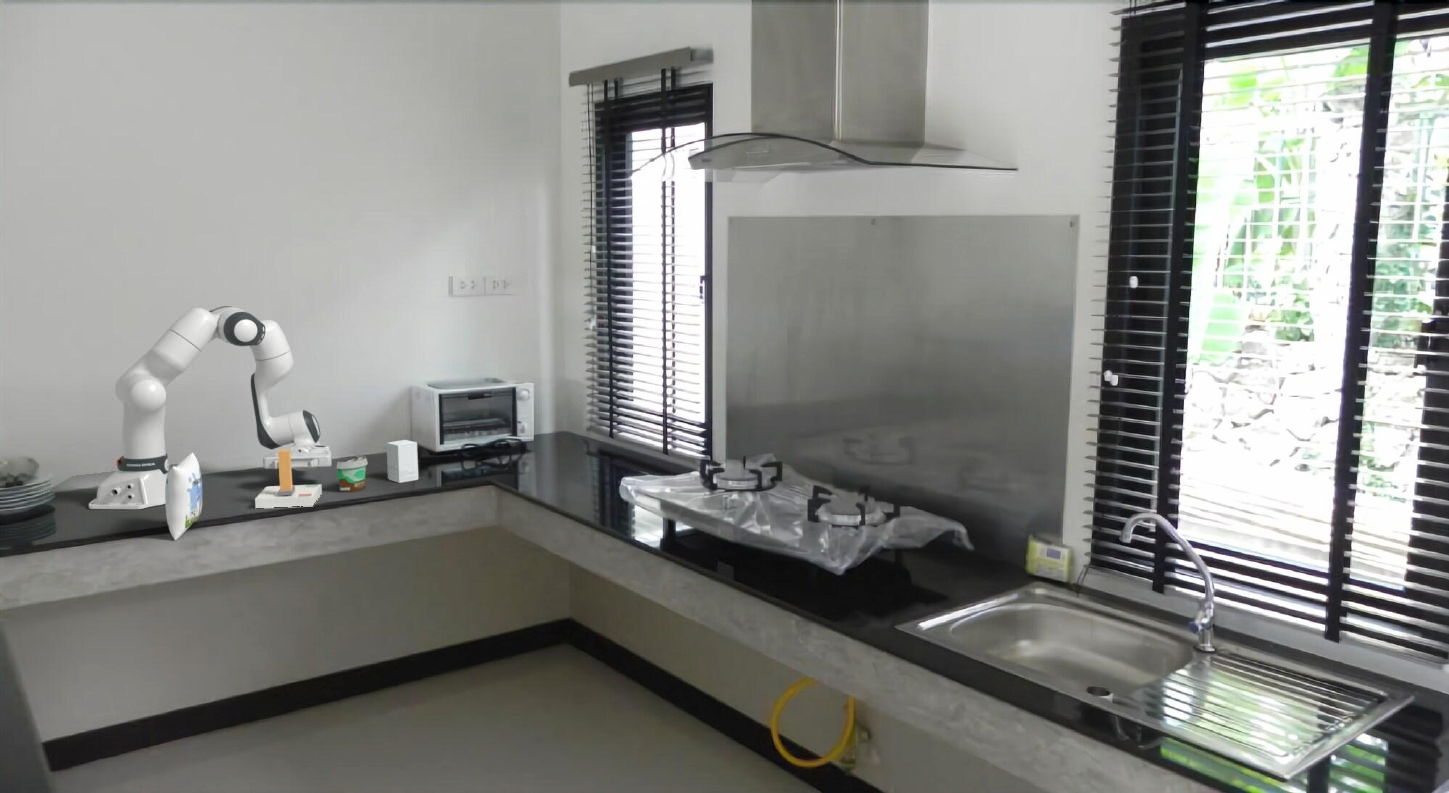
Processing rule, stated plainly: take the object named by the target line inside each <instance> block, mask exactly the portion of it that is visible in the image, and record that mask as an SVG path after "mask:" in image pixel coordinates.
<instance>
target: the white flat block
mask: <svg viewBox="0 0 1449 793" xmlns="http://www.w3.org/2000/svg"><path fill="white" fill-rule="evenodd" d="M292 488H295V492H294V493H293V495H280V496H278V491H279V490H280V485H274V486H272V485H271V486H270V485H269V486H266V487H264V489H263V490H262V491H261V492H260V493H259V494H258V495H257V496H256V497H255V498H254V504H255V509H256V508H264V509H275V508H274V507H288V508H293V507H292V506H300V507H299V508H305V507H306V508H307V507H308V508H309V507H314V506H315V505H314V503H315V502H316V500H317V501H318V500H319V499H320V497H321V496H322V495H323V491H322V490H323V489H322V483H321V484H319V483H318V484H298V485H297V484H296V485H294V484H292ZM320 495H321V496H320ZM318 498H319V499H318ZM316 503H317V502H316ZM316 503H315V504H316ZM313 505H314V506H313ZM301 506H303V507H301Z"/></svg>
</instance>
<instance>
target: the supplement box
mask: <svg viewBox="0 0 1449 793" xmlns="http://www.w3.org/2000/svg"><path fill="white" fill-rule="evenodd" d="M418 459H419V458H418V442H417V441H412V440H408V439H401V440H396V441H390V442H386V460H387V464H386V465H387V480H388V479H389V480H388V481H392V482H395V483H406V482H412V481H418V480H419V462H418V461H419V460H418Z"/></svg>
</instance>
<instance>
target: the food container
mask: <svg viewBox="0 0 1449 793" xmlns="http://www.w3.org/2000/svg"><path fill="white" fill-rule="evenodd" d="M368 464H369V462H368V459H367V457H366V455H362V454H356V457H354V458H352V459H350V458H349V459H347V460H345V461H337V462H336V469H337V473H338V474H337V475H338V482H339V483H338V484H339V492H349V493H356V492H355V491H357V492H360V491H359V490H361V491H364V490H365V489H364V488H366V466H367V465H368ZM363 489H364V490H363Z"/></svg>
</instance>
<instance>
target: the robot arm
mask: <svg viewBox="0 0 1449 793" xmlns="http://www.w3.org/2000/svg"><path fill="white" fill-rule="evenodd" d="M217 339H220V340H221V341H223V342H225V343H226V344H229V345H234V346H235V347H249V348H250V349H251V352H252V355H253V357H254V362H255V371H254V372H253V373H252V374H251V377H250V392H251V398H252V405H253V411H254V417H255V424H256V437H257V438H256V439H257V441H258V442H259V444H260V445H261V446H262V447H264V448H266V449H269V450H274V449H278V448H281V447H283V446H286V445H291V444H293V445H292V446H291V447H290V448H289V449H288V450H290V451H291V469H293V470H295V471H298V472H306V471H307V470H311V469H315V468H328V467H332V465H333V464H332V451H331V450H330V446H329V445H327V446H326V445H322V444H321V442H320V440H319V439H320V437H321V430H320V428H321V427H320V425H319V422H318V420H317V418H316V416H314V415H313V414H312V413H310V411H307V410H306V409H303V410H297V411H294V412H291V413H287V414H283V415H279V416H274V417H273V416H271V415H270V411H269V403H268V398H267V397H268V396H267V393H268V391H269V390H271V389H272V388H273V387H275V386H276V385H277V384H279V383H280V382H282V381H283V380H285V379H286V378H287V377H288V376H289V375H290V374H291V372H292V371H293V368H294V366H295V365H294V364H295V361H294V356H293V352H292V350H291V346H290V344H289V342H288V339H287V337H286V335H285V334H284V331H283V330H282V328H281V327H280V325H279V323H278V322H276V321H274V320H272V319H260V320H259V319H258V318H257V317H255V316H254V314H251V312H250V313H249V312H246V311H245V310H243V309H241V308H238V307H234V306H230V305H229V306H228V305H224V306H220V307H216V308H214V309H211V310H207V309H205V308H202V307H192V308H190V309H189V310H187V311H186V312H185V313H184V314H182V315H181V316H180V317H178V319H177V320H175V321H174V323H172V325H171V326H170V327H169V328H167V330H166V331H165V333H163V335H162V336H161V337H160V338H159V339H158V340H157V341H156V343H154V345H153V346H152V347H151V348H150V349H149V350H148V351H147V352H146V353H145V354H144V355H143V356H141V357H140V358H139V359H138V360H137V361H136V362H134V363H133V364H132V365H131V366H130V367H129V368H128V369H127V370H126V371H125V372H124V373H123V374H122V375H121V376H119V378H118V379H117V381H116V382H115V385H114V386H115V390H114V392H115V395H116V398H117V399H118V400H119V402H120V403H122V406H123V419H122V428H121V436H122V439H121V440H122V450H123V451H122V452H123V455H121V456H120V457H119V459H116V461H115V466H117V467H116V468H117V470H115V472H113V473H112V474H110V475H109V476H107V478H106V479H104V480H103V481H102V482H101V483H100V484H99V485H98V487H97V490H96V491H97V492H96V498H94V499H93V500H91V501H90V502H89V503H88V508H89V510H141V509H146V508H150V507H155V506H161V505H165V485H166V478H167V474H168V472H169V470H170V465H169V458H168V454H167V453H166V440H165V439H166V438H165V437H166V436H165V421H166V420H165V419H166V402H167V390H166V387H167V386H169V384H170V383H171V382H173V381H174V380H175V379H176V378H177V377H179V376H180V375H182V374H183V373H185V371H186V370H187V369H188V367H190V366H191V364H192V363H193V362H194V361H195V359H196V358H198V356H199V355H200V354H201V353H202V351H203V350H204V349H205V348H206V347H207V345H208V344H209V343H211V342H212V341H213V340H214V341H215V340H217ZM262 464H263V466H262V467H263V469H269V470H270V469H275V470H277V469H278V470H279V459H278V452H275V453H269V454H267V455H265V456H263V458H262Z"/></svg>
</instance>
